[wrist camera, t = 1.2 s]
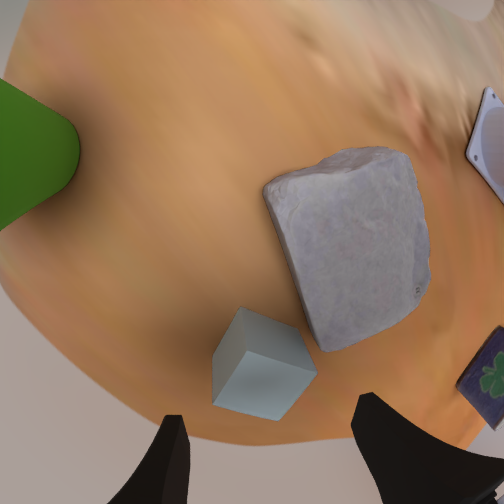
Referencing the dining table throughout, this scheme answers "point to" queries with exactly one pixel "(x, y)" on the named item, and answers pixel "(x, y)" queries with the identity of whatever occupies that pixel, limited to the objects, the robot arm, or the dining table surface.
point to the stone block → (353, 242)
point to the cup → (32, 153)
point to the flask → (486, 380)
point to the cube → (260, 366)
